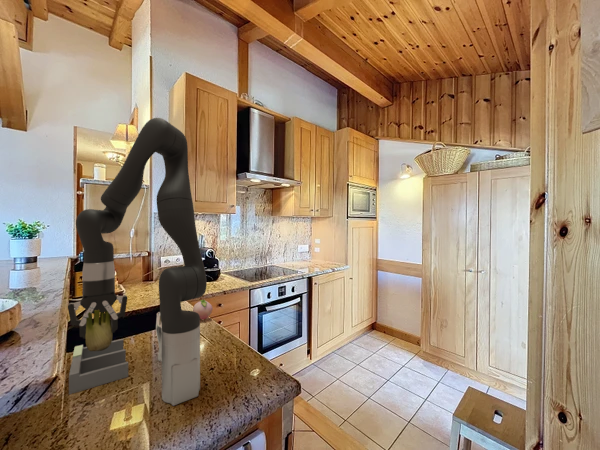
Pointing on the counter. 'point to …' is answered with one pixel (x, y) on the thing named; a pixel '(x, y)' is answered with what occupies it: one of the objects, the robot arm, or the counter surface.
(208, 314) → the decorative fruit
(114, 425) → the counter surface
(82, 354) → the comb rack
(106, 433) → the counter surface
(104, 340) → the fennel bulb
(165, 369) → the robot arm
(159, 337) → the beer glass
